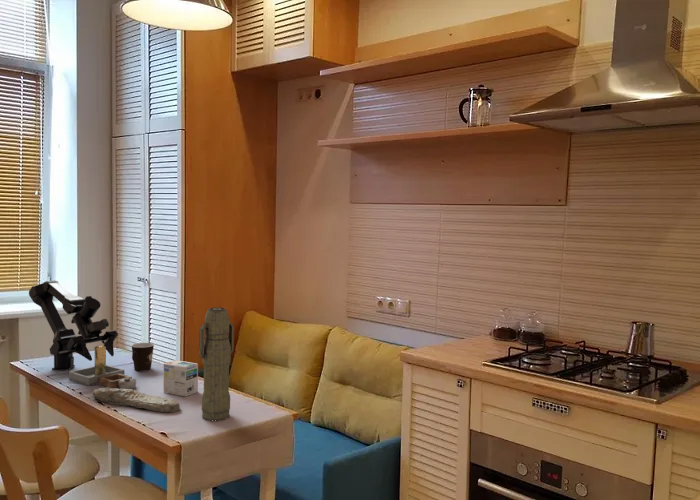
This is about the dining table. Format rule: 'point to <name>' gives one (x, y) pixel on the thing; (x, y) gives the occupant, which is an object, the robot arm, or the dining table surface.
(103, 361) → the pin
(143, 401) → the elongated rock
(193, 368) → the light bulb box
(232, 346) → the headless robed statue
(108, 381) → the brown frame
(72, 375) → the tray
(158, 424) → the dining table surface
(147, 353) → the coffee mug
